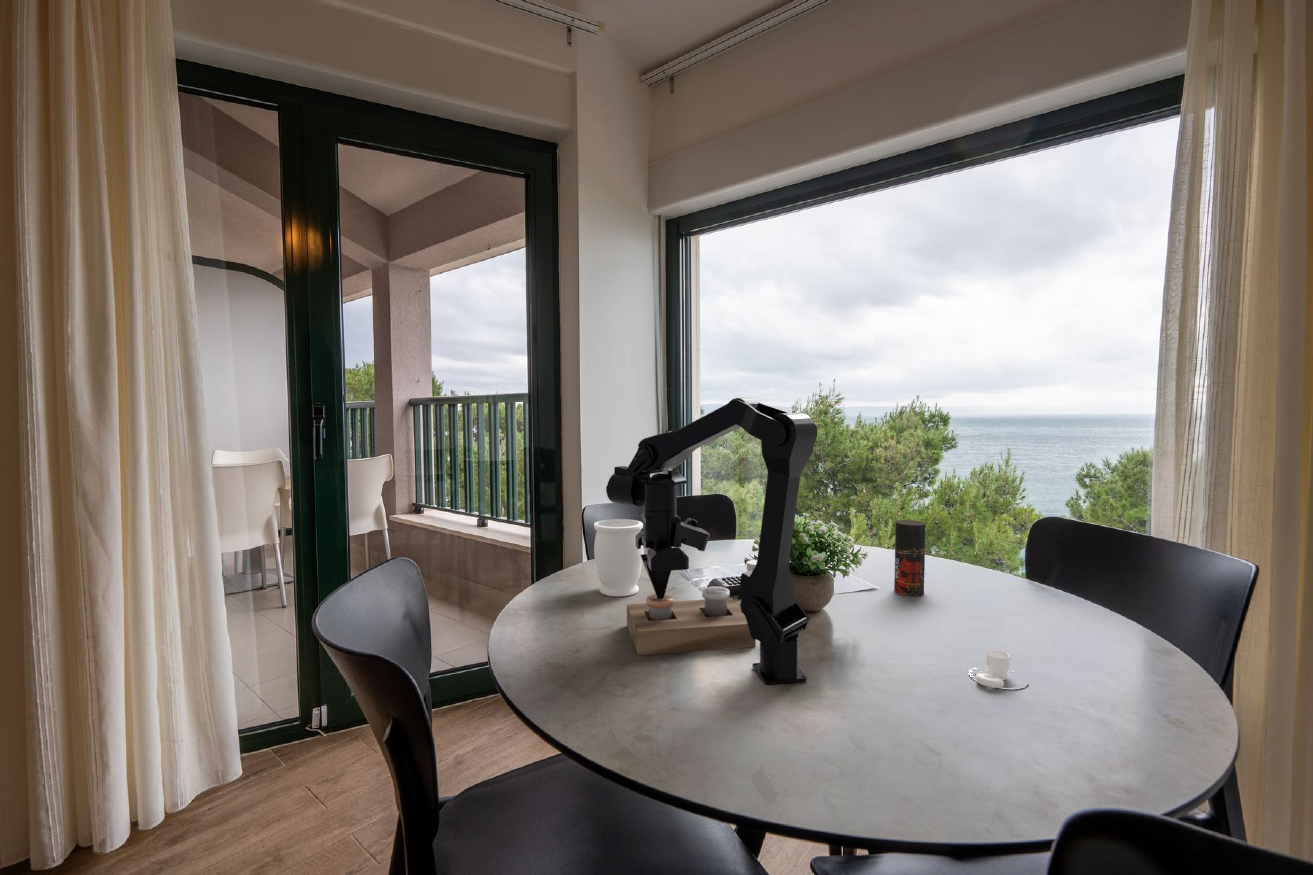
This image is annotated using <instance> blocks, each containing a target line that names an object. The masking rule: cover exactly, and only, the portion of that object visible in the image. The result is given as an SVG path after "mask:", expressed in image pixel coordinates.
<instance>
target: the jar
mask: <svg viewBox="0 0 1313 875" xmlns="http://www.w3.org/2000/svg"><path fill="white" fill-rule="evenodd" d="M593 527H594V530H595V531H596V533H595V537H594V545H593V546H594V547H593V548H594V549H593V552H594V562H595V566H596V574H597V577H598V580H599V582H600V584H601V586H600V587H599V592H600V594H602V595H604V596H608V597H614V598H616V597H617V598H618V597H628V596H629V597H630V596H632V595H635V594H637V593H638V592H639V590H640V589H639V588H640V587H639V586H638V584H637V583H638V582H639V579H640V576H641V574H642V573H641V572H642V566H643V561H642V558H641V555H642V554H644V546H643V545H642V546H641V549H637V547H636V545H635V536H636V535H637V534H638V533H639V532H640V531H642V529H644V522H642V521H640V520H636V519H628V518H627V519H626V518H612V519H604V520H599V521H596V522H593Z"/></svg>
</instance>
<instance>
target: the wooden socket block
mask: <svg viewBox="0 0 1313 875" xmlns="http://www.w3.org/2000/svg"><path fill="white" fill-rule="evenodd" d="M626 627H627V631H628V632H629V635H630V638H631V641H632V644H633V646H634V649H635V652H636V654H637V656H647V655H648V656H649V655H661V654H674V653H686V652H687V653H690V652H700V651H701V652H702V651H703V652H704V651H714V650H716V651H717V650H727V649H728V650H729V649H741V648H754V647H756V645H757V643H756V642H757V640H756V639H753V638H752V637H751V634H750V631H749V627H748V624H747V620H746V617H745V615H744V614H743V613H742V612H741V605H739V603H738V602H736V601H735V600H734V599H733V597H729V598H728V599H727V614H726V615H725V616H717V617H714V616H708V615H706V614H705V599H692V600H691V599H689V600H674V605H673V606H672V619H671V620H655V621H649V606H648V605H647V604H646V602H644V603H643V602H638V603H627V604H626Z"/></svg>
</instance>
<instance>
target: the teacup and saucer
mask: <svg viewBox="0 0 1313 875" xmlns="http://www.w3.org/2000/svg"><path fill="white" fill-rule="evenodd" d="M985 658H986V661H985V662H986V667H987V670H986V671H987V673H980V672H978V673H977V674H976V681H977V682H978V683H977V682H976V681H975V682H976V683H977V684H979V685H981V686H985V687H986V688H992V689H995V688H1001V687H1004V686H1005V681H1006V679H1007V677H1008V676H1009V674H1008V671H1009V670H1010V660H1011V656H1010V654H1009V653H1008V652H1005V651H1002V650H996V649H990V650H987V651H986V653H985ZM972 669H977V668H976V667H972V668H971V669H969V670H968V672H969V673H968V672H967V674H968V676H969V675H970V677H973V676H971V675H973V674H971V673H970V672H973V671H972ZM1011 671H1012V672H1014V671H1013V670H1011ZM970 677H969V678H970ZM974 680H975V679H974ZM974 680H973V681H974ZM1003 680H1005V681H1003Z"/></svg>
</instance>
